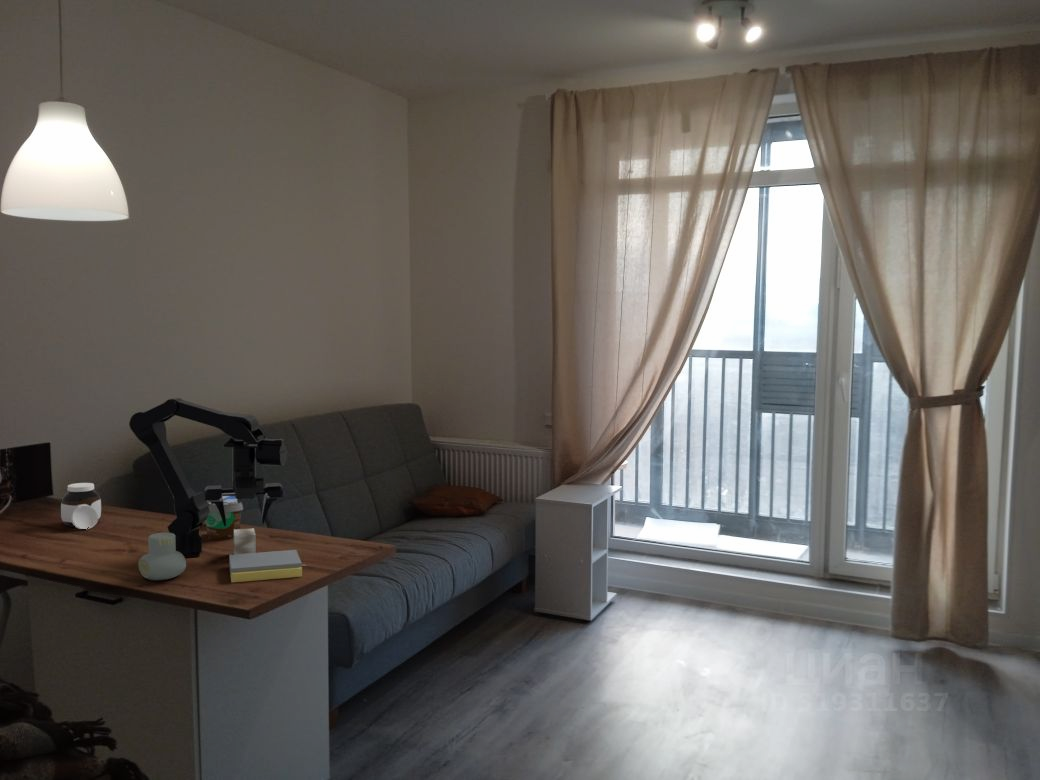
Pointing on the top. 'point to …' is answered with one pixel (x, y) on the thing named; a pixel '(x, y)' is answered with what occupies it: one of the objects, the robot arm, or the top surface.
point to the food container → (215, 522)
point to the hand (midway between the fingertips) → (244, 524)
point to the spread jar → (81, 506)
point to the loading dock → (264, 565)
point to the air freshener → (162, 558)
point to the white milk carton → (244, 541)
